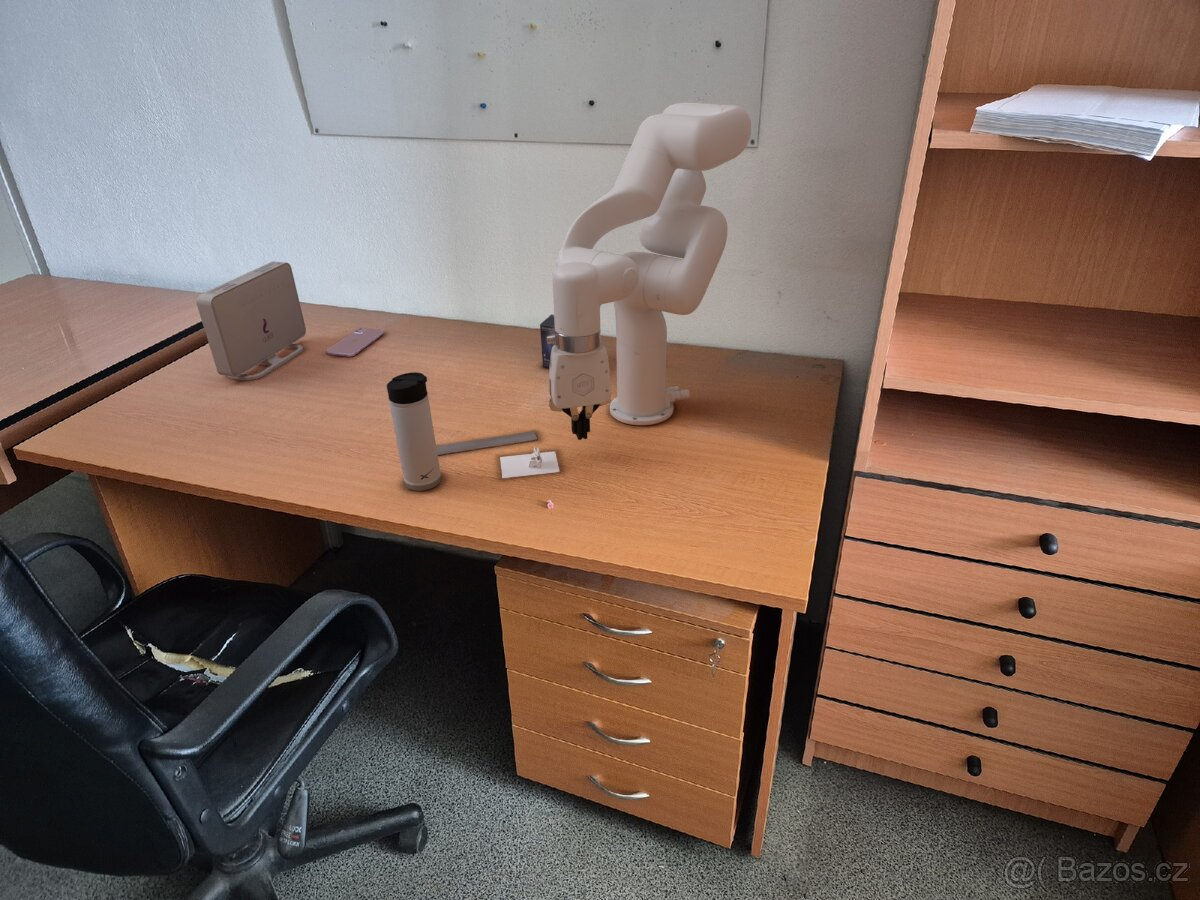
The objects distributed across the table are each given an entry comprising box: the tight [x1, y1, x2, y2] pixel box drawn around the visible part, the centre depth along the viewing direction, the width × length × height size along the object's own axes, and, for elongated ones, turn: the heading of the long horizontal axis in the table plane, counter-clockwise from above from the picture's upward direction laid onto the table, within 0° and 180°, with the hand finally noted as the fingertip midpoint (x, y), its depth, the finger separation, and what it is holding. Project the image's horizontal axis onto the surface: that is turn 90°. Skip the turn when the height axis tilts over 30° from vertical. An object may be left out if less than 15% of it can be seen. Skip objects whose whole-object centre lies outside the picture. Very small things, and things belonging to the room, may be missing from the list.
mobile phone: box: [325, 327, 385, 358], centre depth 187 cm, size 8×1×15 cm
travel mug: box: [386, 371, 442, 492], centre depth 130 cm, size 6×7×20 cm
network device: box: [196, 261, 307, 381], centre depth 175 cm, size 26×9×20 cm, turn 161°
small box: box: [539, 313, 555, 369], centre depth 171 cm, size 11×6×10 cm, turn 68°
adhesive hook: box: [528, 446, 543, 468], centre depth 138 cm, size 3×3×3 cm
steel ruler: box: [436, 430, 538, 456], centre depth 145 cm, size 20×3×1 cm, turn 105°
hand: (581, 435), depth 138 cm, fingers closed
